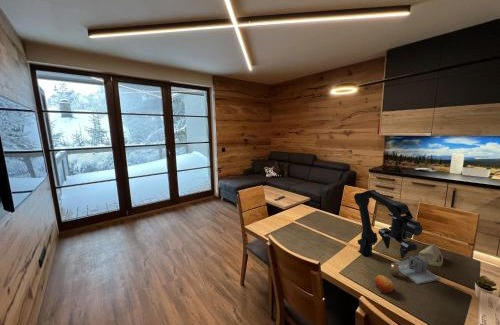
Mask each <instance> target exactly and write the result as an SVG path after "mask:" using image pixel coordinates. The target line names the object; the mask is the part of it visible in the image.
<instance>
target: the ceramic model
mask: <svg viewBox="0 0 500 325" xmlns="http://www.w3.org/2000/svg"><path fill="white" fill-rule="evenodd" d="M418 256H420V257H422V258H423V259H425V260H427V261H428V264H427V265H430V266H433V267H442V265H443V262H444V256H443V254H442V252H441V250H440V249H439V246H437V245H436V244H434V243H433V244H430V245H428V246H427V247H425V248H424V249H422V250H420V251H419V254H418ZM421 262H422V261H421Z"/></svg>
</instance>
